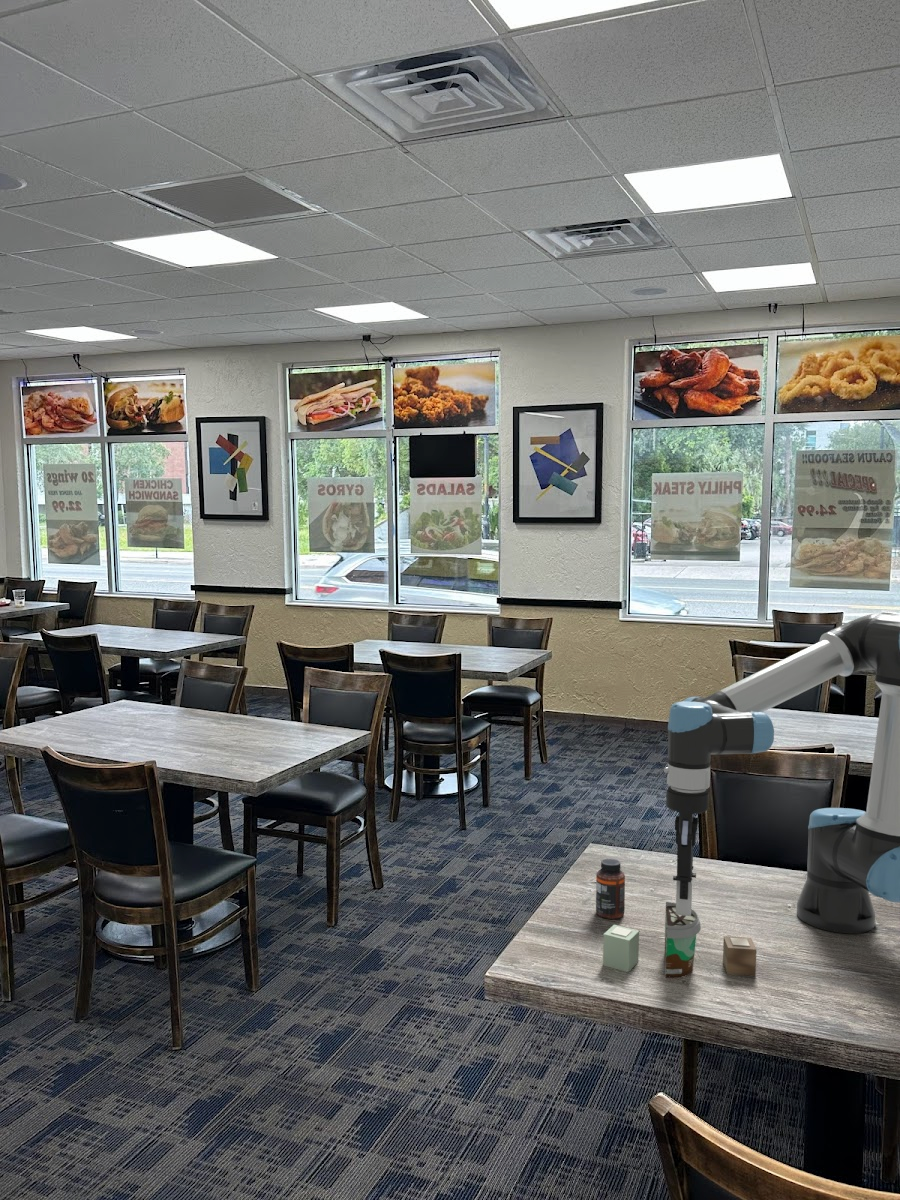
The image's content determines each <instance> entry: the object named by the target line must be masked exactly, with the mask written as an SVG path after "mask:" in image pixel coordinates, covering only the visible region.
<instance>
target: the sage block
mask: <svg viewBox="0 0 900 1200" xmlns="http://www.w3.org/2000/svg"><path fill="white" fill-rule="evenodd" d="M602 941H603V943H602V944H603V948H602V966H605V967H608V968H612V969H616V970H619V971H622V972H626V973H629V972H630V971H631V970H632V969H633V968H634V967H635V966H636V965H637V964H638V963H639V954H640V953H639V952H640V950H639V949H640V948H639V947H640V930H637V929H633V928H629V927H625V926H621V925H619V924H618V925H617V924H613V925H612V926H610V928H609V929H608V930H606V931H605V932H604V933H603V940H602Z"/></svg>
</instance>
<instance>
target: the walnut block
mask: <svg viewBox="0 0 900 1200" xmlns="http://www.w3.org/2000/svg"><path fill="white" fill-rule="evenodd" d="M722 943H723V946H722V947H723V948H722V963H723V967H724V969H725V972H726V974H727V975H738V976H751V977H753V976H754V977H756V974H757V973H756V970H757V948H756V946H755V943H754V941H753V938H752V937H742V936H728V935H724V936H723V942H722Z"/></svg>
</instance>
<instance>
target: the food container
mask: <svg viewBox="0 0 900 1200" xmlns="http://www.w3.org/2000/svg"><path fill="white" fill-rule="evenodd" d="M664 917H665V919H664V921H665V924H664V927H665V928H664V968H665V970H664V971H665V978H666V979H667V978H669V979H676V978H678V979H679V978H684V977H687V976H689V975H690V974H691V973H693V971H694V969H693V968H694V959H695V950H696V943H697V942H696V941H697V935H698V934H699V933H700V931H701V930H702V927H701V922H700V921H701V920H700V917H699V915H698V914H697V912H696V911H695V910H694V909H692V908H691V916H685V915H677V914H676V902H672V901H671V902H670V901H666V902H665V916H664Z"/></svg>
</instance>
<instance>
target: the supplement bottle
mask: <svg viewBox="0 0 900 1200" xmlns="http://www.w3.org/2000/svg"><path fill="white" fill-rule="evenodd" d="M595 882H596V883H595V885H596V886H595V889H596V892H595V893H596V894H595V913H596V914H597V916H599V917H600V918H603V919H608V920H615V919H616V920H617V919H620V918H622V917H623V916H624V915H625V907H626V903H625V902H626V901H625V899H626V898H625V897H626V895H625V893H626V892H625V891H626V890H625V889H626V877H625V873H624V872H623V870H621V862H620V860H618V859H616V858H615V859H614V858H605V859H602V860H601V862H600V869H598V870H597V872H596V881H595Z"/></svg>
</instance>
